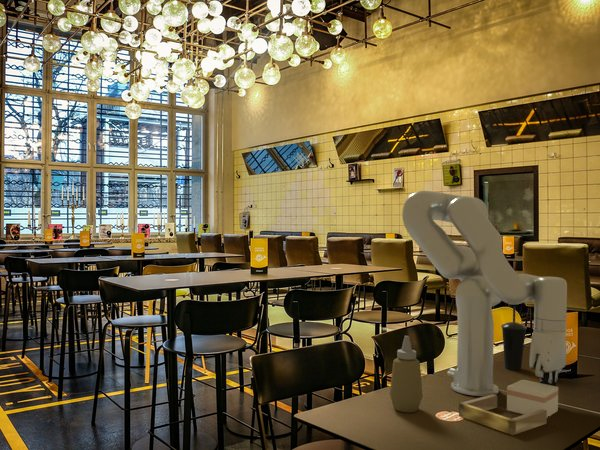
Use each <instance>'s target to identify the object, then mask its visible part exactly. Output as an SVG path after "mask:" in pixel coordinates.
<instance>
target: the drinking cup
mask: <svg viewBox="0 0 600 450" xmlns="http://www.w3.org/2000/svg"><path fill="white" fill-rule="evenodd" d="M500 326H501V327H500V328H501V329H502V330H501V331H502V343H503V346H502V347H503V357H504V358H503V359H504V368H505V369H506V370H509V371H521V370H522V365H523V357H524V356H523V355H524V347H525V341H526V330H527V328H528V327H527V326H526V325H524V324H523V323H519V322H516V306H515V305H513V307H512V321H508V322H506V323H503V324H501V325H500Z"/></svg>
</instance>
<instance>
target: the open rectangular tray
mask: <svg viewBox="0 0 600 450" xmlns="http://www.w3.org/2000/svg"><path fill="white" fill-rule="evenodd" d="M496 408H498V394H496V395H494V394H492V395H489V396H480V397H478V398H473V399H470V400H466V401H463V402H459V404H458V416H459V417H461V418H464V419H466V420H469V421H471V422H475V423H478V424H479V425H484V426H486V427H488V428H491V429H494V430H498V431H499V432H503V433H506V434H508V435H511V436H515V435H517V434H521V433H523V432H526V431H529V430H532V429H535V428H537V427H541V426H543V425H546V424H547V423H548V421H547V419H548V417H547V411H546V410H543V409H541V410H538V411H534V412H531V413H528V414H525V415H524V414H521V415H519V416H517V417H514V418H511V417H507V416H504V415H500V414H498V413H495V412H493V411H491V410H493V409H496Z"/></svg>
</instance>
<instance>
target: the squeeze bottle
mask: <svg viewBox="0 0 600 450" xmlns="http://www.w3.org/2000/svg"><path fill="white" fill-rule="evenodd" d="M396 353H397V354H396V355H397V357H396V358H394V359H393V362H392V371H391V380H390V388H389V396H390V400H391V403H392V406H393V409H394V410H396V411H399V412H402V413H415V412H417V411H418V410H419V407H420V405H421V403H422V400H423V386H422V385H423V384H422V372H421V362H420V361H419V360H418V359H417V351H416V350H415V349H413V348H412V342H411V337H410V335H404V338H403V341H402V346H401V348H400V349H397V351H396Z"/></svg>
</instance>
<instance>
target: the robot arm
mask: <svg viewBox="0 0 600 450" xmlns="http://www.w3.org/2000/svg"><path fill="white" fill-rule="evenodd" d="M488 212H489V211H488V207H487V205H486V203H485V201H483V200H482V199H480V198H478V197H473V196H464V195H456V194H451V193H446V192H445V193H444V192H438V191H431V190H418V191H415V192H412V193H411V194H410V195H408V196H407V198H406V200H405V201H404V203H403V207H402V213H401V214H402V215H401V216H402V222H403V225H404V228H405V229H406V232H407V233H408V235H409V236H410V238H411V239H412V240H413V241H414V243H415V244H417V245H418V247H419V248H420V250H421V251H422V252H423V253H424V255H425V256H426V258H427V259H428V260H429V262H430V263H431V264H432V265H433V266H434V268H435V269H436V270H437V272H438V273H439V274H440V275H441V276H442V277H443V278H446V279H448V280H456V279H457V280H459V281H460V282H459V283H458V285H457V287H456V290H455V306H456V313H457V314H456V315H457V343H456V345H457V350H456V352H457V354H456V355H457V356H456V368H454V367H450V368H449V369H448V370H447V373H446V375H447V376H448V377H451V378H453V381H452V382H451V383H450V388H451V390H453V391H454V392H457V393H459V394H463V395H467V396H473V397H474V396H475V397H485V396H489V395H492V394H494V395H498V394H499V391H500V390H499V389H500V388H499V386H498V385H496V384H495V383H494V341H495V340H494V337H495V336H494V335H495V333H494V329H495V328H494V325H495V324H494V315H493V310H492V309H493V308H492V307H494V306H497V305H498V304H500V303H501V301H502V302H504V303H506V304H509V305H513V306H515V305H519V304H522V303H527V302H534V307H533V310H534V311H533V332H532V336H531V338H530V339H531V340H530V347H529V348H530V349H529V358H528V359H529V362H528V363H529V368H530V369H532V370H535V372H534V375H535V377H537V378H538V377H539V381H540V383H542V384H546V385H551V386H556V387H557V381H558V376H559V375H558V374H560V373H561V372H562V371H563V368H565V367H566V364H567V363H566V362H567V339H566V333H567V311H568V310H567V308H568V307H567V305H568V303H567V302H568V299H567V298H568V293H567V292H568V283H567V280H566V279H564V278H563V277H557V276H539V275H534V274H533V275H532V274H530V273H529V274H528V273H517V272H516V271H515V270H514V268H513V267H512V266H511V264H510V263H509V261H508V259H507V258H506V256H505V254H504V251H503V238H502V236H501V234H500V232H499V231H498V230H497V229H496V227H495V226H494V225H493V224H492V222H491V221H490V219H489V218H488V214H489V213H488ZM435 221H441V222H446V223H452V225H453V226H454V227H455V229H456V230H457V231H458V233H459V234H460V236H461V237H462V239H463V240H464V241H465V243H466V244H467V246H466V245H457V244H456V243H455V241H453V240H452V238H451V237H450V236H449V235H448V234H447V233H446V231H445V230H444V229H443V228H442V227H441V226H439V224H437V223H436V222H435Z"/></svg>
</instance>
